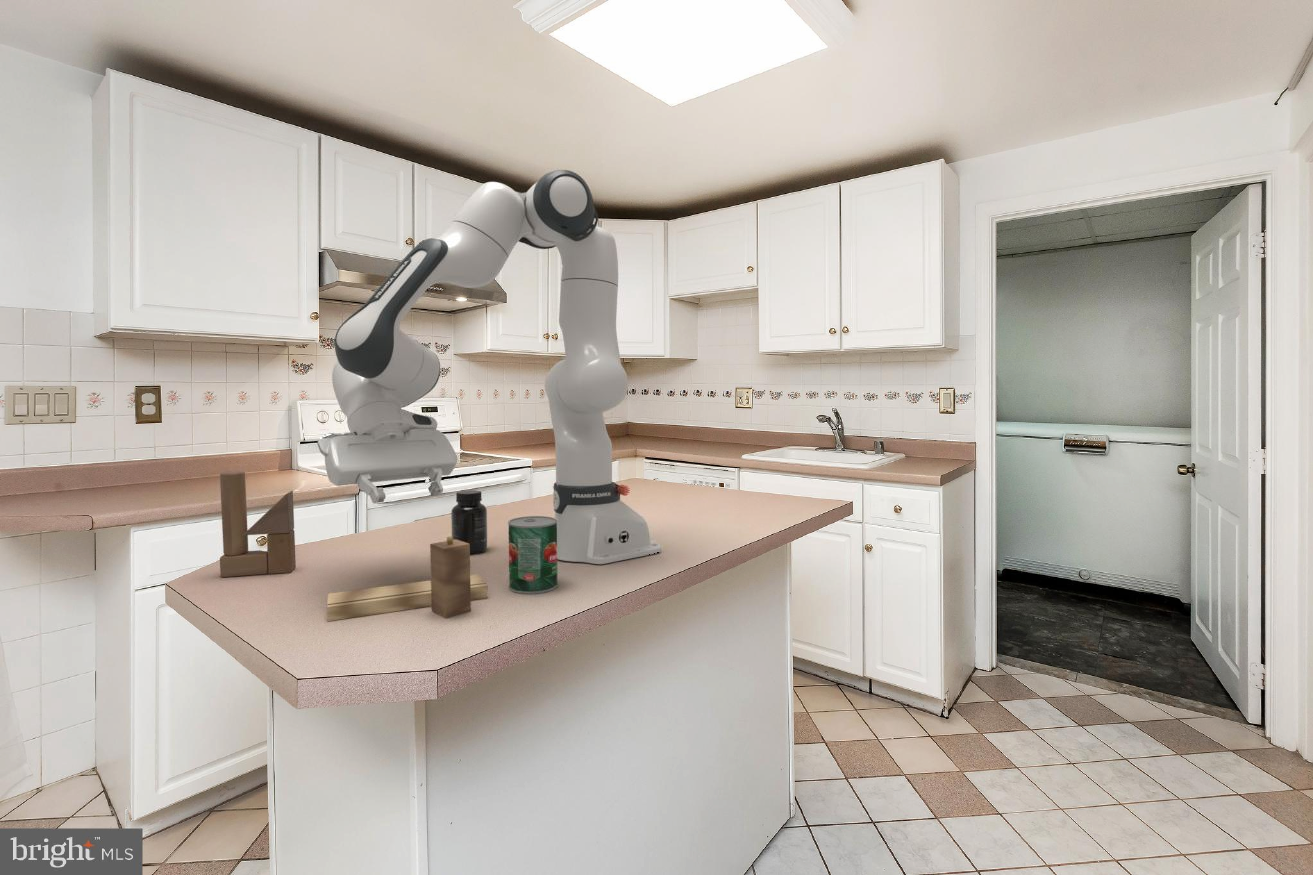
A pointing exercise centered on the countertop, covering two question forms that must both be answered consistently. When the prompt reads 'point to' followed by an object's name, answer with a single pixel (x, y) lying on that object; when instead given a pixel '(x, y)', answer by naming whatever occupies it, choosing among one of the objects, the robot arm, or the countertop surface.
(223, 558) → the wooden block structure
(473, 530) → the supplement bottle
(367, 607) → the board
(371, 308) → the robot arm
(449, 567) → the block
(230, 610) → the countertop surface
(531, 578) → the canned tomato
